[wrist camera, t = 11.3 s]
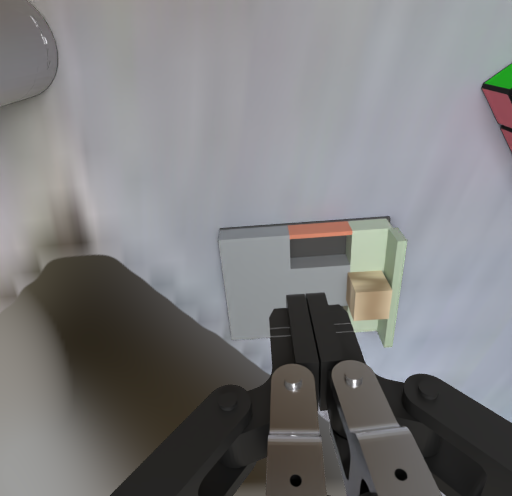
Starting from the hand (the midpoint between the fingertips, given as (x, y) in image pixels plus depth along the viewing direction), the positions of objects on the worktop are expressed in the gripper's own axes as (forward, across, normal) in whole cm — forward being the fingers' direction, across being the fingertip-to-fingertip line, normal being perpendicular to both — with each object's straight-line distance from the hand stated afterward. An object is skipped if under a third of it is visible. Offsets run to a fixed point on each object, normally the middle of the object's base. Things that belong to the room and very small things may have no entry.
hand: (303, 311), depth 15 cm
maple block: (+26, -10, +18) cm, 33 cm away
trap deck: (+29, -4, +18) cm, 34 cm away
